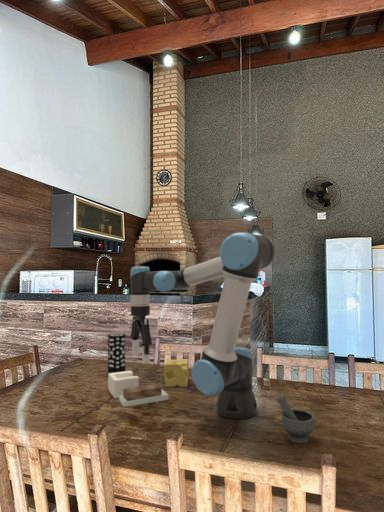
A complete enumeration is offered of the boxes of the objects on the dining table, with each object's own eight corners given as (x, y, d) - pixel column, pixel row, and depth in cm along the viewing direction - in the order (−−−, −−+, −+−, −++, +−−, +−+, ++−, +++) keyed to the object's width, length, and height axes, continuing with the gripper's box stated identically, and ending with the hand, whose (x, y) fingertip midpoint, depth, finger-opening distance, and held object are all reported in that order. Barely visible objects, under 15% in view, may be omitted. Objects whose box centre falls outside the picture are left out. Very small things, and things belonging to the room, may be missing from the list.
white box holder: (130, 386, 162) (130, 370, 162) (138, 394, 151) (138, 377, 151) (108, 389, 157) (108, 373, 158) (114, 398, 147) (114, 380, 147)
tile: (156, 391, 149) (156, 383, 149) (161, 394, 145) (161, 387, 145) (123, 397, 142) (123, 389, 143) (127, 401, 138) (127, 392, 138)
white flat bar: (168, 399, 145) (168, 394, 145) (123, 407, 137) (123, 401, 137) (161, 394, 152) (161, 389, 152) (119, 400, 144) (119, 395, 144)
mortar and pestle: (317, 435, 113) (317, 396, 113) (311, 448, 104) (311, 406, 105) (281, 428, 118) (281, 390, 118) (273, 440, 110) (272, 399, 110)
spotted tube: (107, 374, 180) (107, 334, 181) (124, 373, 183) (124, 333, 184) (108, 379, 172) (108, 336, 173) (126, 377, 175) (126, 335, 176)
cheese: (188, 387, 161) (187, 364, 161) (163, 387, 161) (163, 364, 161) (188, 380, 171) (188, 358, 171) (165, 380, 171) (165, 358, 172)
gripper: (159, 307, 136) (160, 365, 135) (140, 302, 158) (140, 352, 157) (140, 308, 132) (140, 367, 131) (123, 303, 155) (123, 354, 154)
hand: (140, 359), depth 144 cm, fingers open, 13 cm apart
